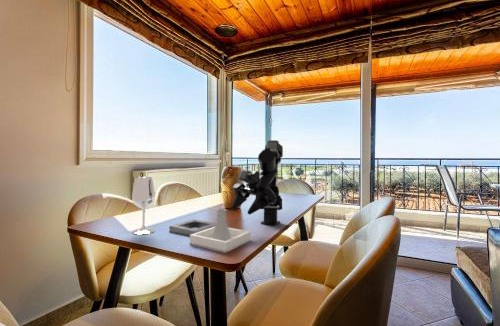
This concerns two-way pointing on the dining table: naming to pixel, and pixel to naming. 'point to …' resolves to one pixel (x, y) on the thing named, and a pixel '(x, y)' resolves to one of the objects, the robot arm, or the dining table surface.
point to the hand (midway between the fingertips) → (240, 211)
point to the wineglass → (143, 199)
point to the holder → (185, 226)
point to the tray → (207, 242)
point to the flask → (221, 227)
